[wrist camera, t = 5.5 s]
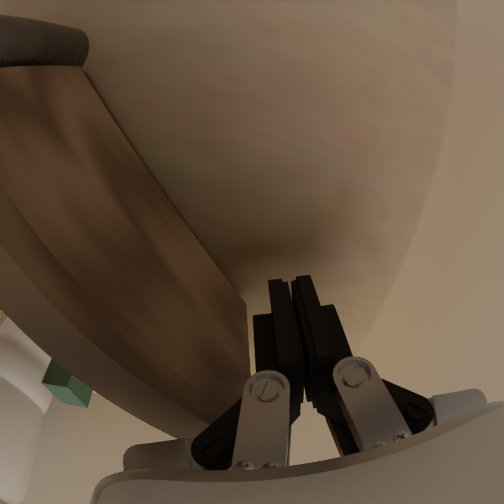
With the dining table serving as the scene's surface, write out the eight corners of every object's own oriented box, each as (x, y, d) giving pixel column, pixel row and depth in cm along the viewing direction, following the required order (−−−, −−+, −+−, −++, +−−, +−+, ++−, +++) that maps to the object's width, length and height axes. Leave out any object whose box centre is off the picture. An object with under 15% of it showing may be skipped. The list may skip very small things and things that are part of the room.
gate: (55, 90, 9) (-96, 134, 2) (83, 62, 9) (-76, 75, 1) (221, 314, 17) (219, 456, 9) (249, 302, 17) (261, 449, 9)
